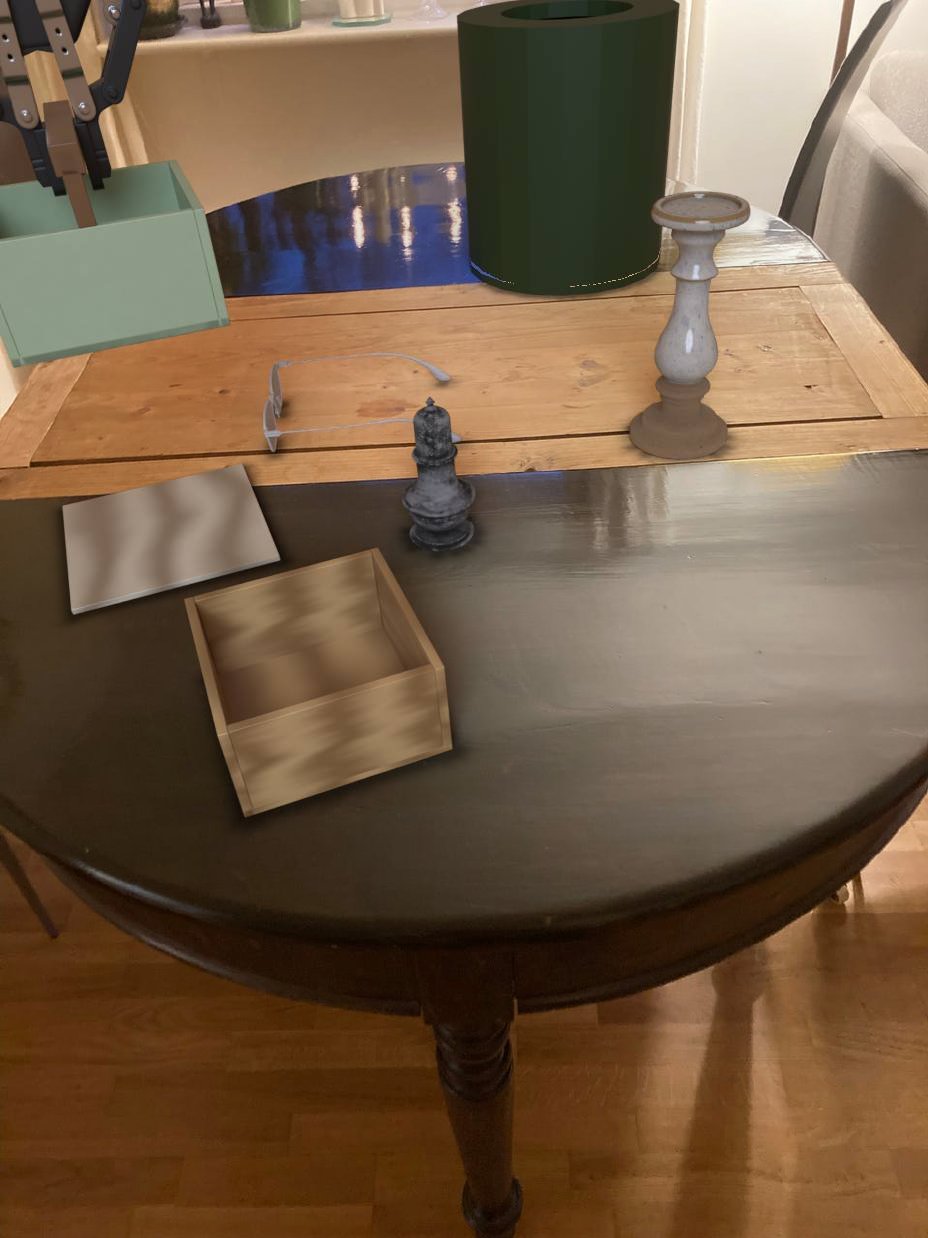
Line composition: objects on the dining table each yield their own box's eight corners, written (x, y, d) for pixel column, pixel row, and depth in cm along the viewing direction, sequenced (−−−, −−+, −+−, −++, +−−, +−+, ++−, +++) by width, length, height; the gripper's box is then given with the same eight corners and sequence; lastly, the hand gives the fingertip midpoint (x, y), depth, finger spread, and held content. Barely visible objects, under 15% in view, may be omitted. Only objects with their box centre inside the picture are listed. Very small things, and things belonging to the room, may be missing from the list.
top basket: (13, 368, 55) (-69, 162, 47) (14, 296, 64) (-54, 115, 57) (230, 325, 58) (185, 125, 50) (201, 262, 67) (159, 87, 60)
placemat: (73, 615, 70) (71, 610, 69) (64, 510, 81) (62, 505, 81) (280, 560, 73) (279, 555, 73) (243, 467, 85) (242, 463, 85)
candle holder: (722, 465, 80) (755, 223, 68) (621, 455, 83) (635, 219, 70) (730, 418, 87) (762, 189, 74) (637, 410, 89) (652, 186, 76)
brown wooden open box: (245, 818, 54) (217, 736, 49) (209, 678, 63) (183, 598, 59) (452, 749, 57) (444, 666, 52) (389, 626, 66) (378, 546, 62)
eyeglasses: (279, 392, 97) (272, 356, 94) (450, 376, 97) (447, 340, 95) (268, 466, 85) (260, 427, 82) (463, 447, 86) (460, 408, 83)
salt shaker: (394, 547, 74) (376, 410, 66) (422, 508, 78) (408, 375, 70) (463, 558, 72) (453, 420, 64) (487, 518, 76) (480, 383, 69)
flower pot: (537, 311, 109) (535, 35, 92) (435, 255, 127) (417, 14, 109) (700, 264, 118) (728, 4, 100) (585, 218, 136) (591, -12, 118)
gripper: (-205, -182, 41) (-43, 226, 52) (113, -202, 44) (201, 186, 55) (-178, -175, 46) (-37, 193, 57) (102, -192, 49) (185, 159, 60)
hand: (80, 188), depth 56 cm, fingers closed on top basket
